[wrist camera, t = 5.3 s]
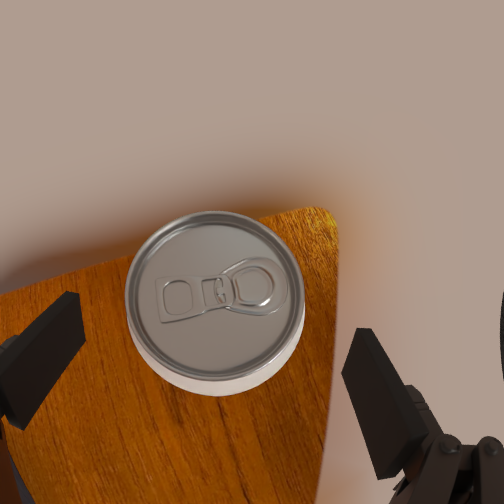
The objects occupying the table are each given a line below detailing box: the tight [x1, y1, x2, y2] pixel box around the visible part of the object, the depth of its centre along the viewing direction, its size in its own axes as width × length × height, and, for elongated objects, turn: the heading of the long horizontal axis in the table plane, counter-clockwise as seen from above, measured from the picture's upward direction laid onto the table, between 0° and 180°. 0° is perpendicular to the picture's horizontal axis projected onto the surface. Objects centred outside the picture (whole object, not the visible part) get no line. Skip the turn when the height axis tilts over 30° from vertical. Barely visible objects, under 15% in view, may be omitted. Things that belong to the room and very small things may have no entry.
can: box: [125, 211, 305, 396], centre depth 15 cm, size 6×6×12 cm
